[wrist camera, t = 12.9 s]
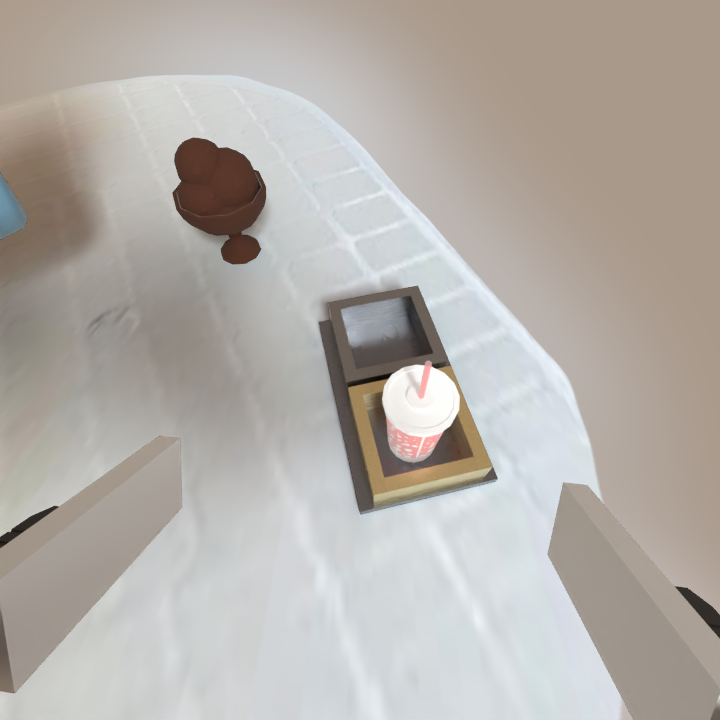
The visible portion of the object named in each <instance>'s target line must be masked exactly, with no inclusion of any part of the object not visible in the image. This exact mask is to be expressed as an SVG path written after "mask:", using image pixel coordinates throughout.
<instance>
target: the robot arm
mask: <svg viewBox="0 0 720 720" xmlns="http://www.w3.org/2000/svg"><path fill="white" fill-rule="evenodd" d="M26 223H27V215H26V212H25V210H24V208H23V207H22V205H21V203H20V202H19V200H18V199H17V197H16V195H15V194H14V192H13V191H12V189H11V188H10V186H9V185H8V183H7V181H6V180H5V178H4V177H3V175H2V174H1V172H0V240H1V239H3V238H5V237H7V236H9V235H11V234H13V233H15V232H17V231H20V230H21V229H23V228H24V227H25V225H26ZM181 508H182V480H181V448H180V438H174V437H165V436H159V437H157V438H156V439H154V440H153V441H151V442H150V443H149V444H147V445H146V446H144V447H143V448H142V449H140V450H139V451H137V452H136V453H134V454H133V455H132V456H130V457H129V458H127V459H126V460H125V461H123V462H122V463H120V464H119V465H118V466H116V467H115V468H113V469H112V470H110V471H109V472H108V473H106V474H105V475H103V476H102V477H101V478H99V479H98V480H96V481H95V482H93V483H92V484H91V485H89V486H88V487H86V488H85V489H84V490H82V491H81V492H79V493H78V494H77V495H75V496H74V497H72V498H71V499H69V500H68V501H67V502H65V503H64V504H62V505H61V506H60V507H59V506H53V507H51V508H49V509H46V510H44V511H42V512H39V513H37V514H35V515H33V516H31V517H29V518H28V519H26V520H25V521H23V522H22V523H20V524H19V525H17V526H16V527H14V528H13V529H12V531H11V532H7V533H6V534H4V535H3V536H1V537H0V691H3V692H9V693H16V692H17V690H18V689H19V688H20V687H21V686H22V685H23V684H24V683H25V682H26V680H27V679H28V678H29V677H30V676H31V675H32V674H33V673H34V672H35V670H36V669H37V668H38V667H39V666H40V665H41V664H42V663H43V662H44V660H45V659H46V658H47V657H48V656H49V655H50V654H51V653H52V652H53V650H54V649H55V648H56V647H57V646H58V645H59V644H60V643H61V642H62V640H63V639H64V638H65V637H66V636H67V635H68V634H69V633H70V632H71V630H72V629H73V628H74V627H75V626H76V625H77V624H78V623H79V622H80V620H81V619H82V618H83V617H84V616H85V615H86V614H87V613H88V611H89V610H90V609H91V608H92V607H93V606H94V605H95V604H96V603H97V601H98V600H99V599H100V598H101V597H102V596H103V595H104V594H105V593H106V591H107V590H108V589H109V588H110V587H111V586H112V585H113V584H114V583H115V581H116V580H117V579H118V578H119V577H120V576H121V575H122V574H123V573H124V571H125V570H126V569H127V568H128V567H129V566H130V565H131V564H132V563H133V561H134V560H135V559H136V558H137V557H138V556H139V555H140V554H141V553H142V551H143V550H144V549H145V548H146V547H147V546H148V545H149V544H150V543H151V541H152V540H153V539H154V538H155V537H156V536H157V535H158V534H159V533H160V531H161V530H162V529H163V528H164V527H165V526H166V525H167V524H168V523H169V521H170V520H171V519H172V518H173V517H174V516H175V515H176V514H177V513H178V511H179V510H180V509H181ZM548 556H549V558H550V560H551V562H552V564H553V566H554V568H555V570H556V571H557V573H558V575H559V577H560V579H561V581H562V583H563V585H564V587H565V589H566V591H567V593H568V595H569V597H570V599H571V600H572V602H573V604H574V606H575V608H576V610H577V612H578V614H579V616H580V618H581V620H582V622H583V624H584V626H585V628H586V629H587V631H588V633H589V635H590V637H591V639H592V641H593V643H594V645H595V647H596V649H597V651H598V653H599V655H600V656H601V658H602V660H603V662H604V664H605V666H606V668H607V670H608V672H609V674H610V676H611V678H612V680H613V682H614V684H615V685H616V687H617V689H618V691H619V693H620V695H621V697H622V699H623V701H624V703H625V705H626V707H627V709H628V711H629V713H630V714H631V716H632V718H633V720H720V615H719V614H718V613H717V611H716V610H715V609H714V608H713V607H712V606H711V605H709V604H708V603H707V602H705V601H704V600H703V599H701V598H700V597H699V596H697V595H696V594H695V593H693V592H692V591H691V590H689V589H688V588H683V587H676V586H674V585H673V584H672V583H671V582H670V581H669V579H668V578H667V577H666V576H665V575H664V574H663V572H662V571H661V570H660V569H659V568H658V567H657V566H656V564H655V563H654V562H653V561H652V560H651V559H650V557H649V556H648V555H647V554H646V553H645V552H644V550H642V548H641V547H640V546H639V545H638V543H637V542H636V541H635V540H634V539H633V538H632V537H631V535H630V534H629V533H628V532H627V531H626V530H625V528H624V527H623V526H622V525H621V524H620V523H619V521H618V520H617V519H616V518H615V517H614V516H613V515H612V513H611V512H610V511H609V510H608V509H607V507H606V506H605V505H604V504H603V503H602V502H601V501H600V499H599V498H598V497H597V496H596V495H595V494H594V492H593V491H592V490H591V489H590V488H589V487H588V485H581V484H572V483H563V486H562V491H561V495H560V500H559V504H558V509H557V513H556V518H555V523H554V527H553V532H552V536H551V541H550V545H549V550H548Z"/></svg>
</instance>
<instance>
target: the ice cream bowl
mask: <svg viewBox="0 0 720 720" xmlns="http://www.w3.org/2000/svg"><path fill="white" fill-rule="evenodd" d="M174 162H175V166H176V169H177V173H178V176H179V178H180V180H181V183H180V184H179V185H178V187H177V188H176V189H175V190H174V192H173V197H174V201H175V205H176V210H177V211H178V212H179V214H180V215H181V216H182V218H183V219H184V220H185V221H187V222H188V223H189V224H190V225H192V226H194V227H196V228H198V229H200V230H203V231H205V232H207V233H209V234H213V235H216V236H218V235H229V237H230V239H229V240H227V241H225V243H224V245H223V246H222V248H221V253H222V257H223V260H225V261H227V262H229V263H231V264H245V263H247V262H249V261H251V260H253V259H255V258H256V257H257V255H258V254H259V252H260V250H261V248H260V245H259V243H258V241H257V240H256V239H255V238H253V237H251V236H248V235H242V233H241V231H243V230H244V229H246V228H248V227H250V226H251V225H252V224H253V223H254V222H255V221H256V219H257V217H258V216H259V214H260V212H261V210H262V209H263V207H264V204H265V200H266V186H265V184H264V182H263V180H262V177H261V175H260V173H259V171H256V170H254V169H253V167H252V165H251V163H250V161H249V160H248V159H247V158H246V157H245V156H244V155H243V154H241V153H239V152H237V151H236V150H232V149H230V148H218V147H217V146H216V145H215V143H213V142H211V141H209V140H206V139H200V138H191V139H189V140H186V141H184V142H183V143H182V144H181V145H180V146H179V147H178V149H177V151H176V153H175V160H174Z"/></svg>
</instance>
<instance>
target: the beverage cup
mask: <svg viewBox="0 0 720 720" xmlns="http://www.w3.org/2000/svg"><path fill="white" fill-rule="evenodd" d="M431 366H432V362H431V361H426V362H425V366H424V365H413V366H408V367H403V368H401V369H400V370H398V371H397V372H395V373H394V374H392V375H391V376H390V378H389V379H388V381H387V382H386V384H385V385H384V390H383V397H382V404H383V407H384V411H385V414H386V419H387V433H388V442H389V446H390V449H391V450H392V452H393V453H394V454H395V456H396V457H398V458H400V459H402V460H403V461H406V462H413V463H415V462H419V461H423V460H424V459H426V458H427V457H428V456H430V455H431V453H432V451H433V449H434V448H435V446H436V444H437V442H438V440H439V439H440V437H441V435H442V433H443V432H444V430H445V429H447V428H448V427H449V426H451V424H452V422H453V420H454V419H455V417H456V415H457V413H458V411H459V402H460V395H459V393H458V391H457V388H456V386H455V383H454V382H453V381H452V380H451V379H450V378H449V377H448V376H447V375H446V374H445V373H444V372H442V371H440V370H438V369H436V368H433V367H431Z"/></svg>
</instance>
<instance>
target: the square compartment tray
mask: <svg viewBox="0 0 720 720" xmlns="http://www.w3.org/2000/svg"><path fill="white" fill-rule="evenodd" d="M328 308H329V315H330V320H329V321H324V322H319V324H320V329H321V334H322V338H323V343H324V348H325V352H326V357H327V361H328V366H329V371H330V375H331V380H332V385H333V389H334V394H335V398H336V403H337V408H338V412H339V417H340V421H341V426H342V431H343V435H344V440H345V445H346V449H347V454H348V458H349V463H350V468H351V472H352V477H353V482H354V486H355V491H356V495H357V500H358V505H359V509H360V514H365V513H369V512H373V511H377V510H381V509H385V508H389V507H393V506H397V505H402V504H406V503H410V502H414V501H418V500H422V499H426V498H430V497H434V496H439V495H443V494H447V493H451V492H455V491H459V490H463V489H467V488H471V487H476V486H480V485H484V484H488V483H492V482H495V481H496V480H497V479H498V478H497V476H496V473H495V471H494V468H493V466H492V464H491V461H490V459H489V456H488V454H487V451H486V449H485V447H484V444H483V442H482V439H481V437H480V435H479V432H478V430H477V427H476V425H475V423H474V420H473V418H472V415H471V413H470V410H469V408H468V406H467V403H466V401H465V398H464V396H463V394H462V391H461V389H460V386H459V384H458V381H457V379H456V377H455V374H454V372H453V369H452V367H451V365H450V362H449V360H448V357H447V355H446V352H445V350H444V348H443V345H442V343H441V340H440V338H439V336H438V333H437V331H436V328H435V326H434V323H433V321H432V319H431V316H430V314H429V311H428V309H427V307H426V304H425V302H424V299H423V297H422V295H421V292H420V290H419V287H418V286H414V287H408V288H403V289H398V290H392V291H387V292H382V293H376V294H371V295H366V296H360V297H355V298H350V299H345V300H339V301H334V302H329V303H328ZM426 361H431V362H432V366H431V367H433V368H436V369H438V370H440V371H442V372H444V373H445V374H446V375H447V376H448V377H449V378H450V379H451V380H452V381H453V382H454V383H455V386H456V388H457V391H458V393H459V395H460V402H459V411H458V413H457V415H456V417H455V419H454V420H453V422H452V424H451V426H449V427H448V428H447V429H445V430H444V432H443V433H442V435H441V437H440V439H439V440H438V442H437V444H436V446H435V448H434V449H433V451H432V453H431V455H430V456H428V457H427V458H426V459H424V460H423V461H419V462H415V463H413V462H406V461H403V460H402V459H400V458H398V457H396V456H395V454H394V453H393V452H392V450H391V449H390V446H389V442H388V433H387V419H386V414H385V411H384V407H383V404H382V397H383V390H384V385H385V384H386V382H387V381H388V379H389V378H390V376H391V375H392V374H394V373H395V372H397V371H398V370H400V369H401V368H403V367H408V366H413V365H424V366H425V362H426Z"/></svg>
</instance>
